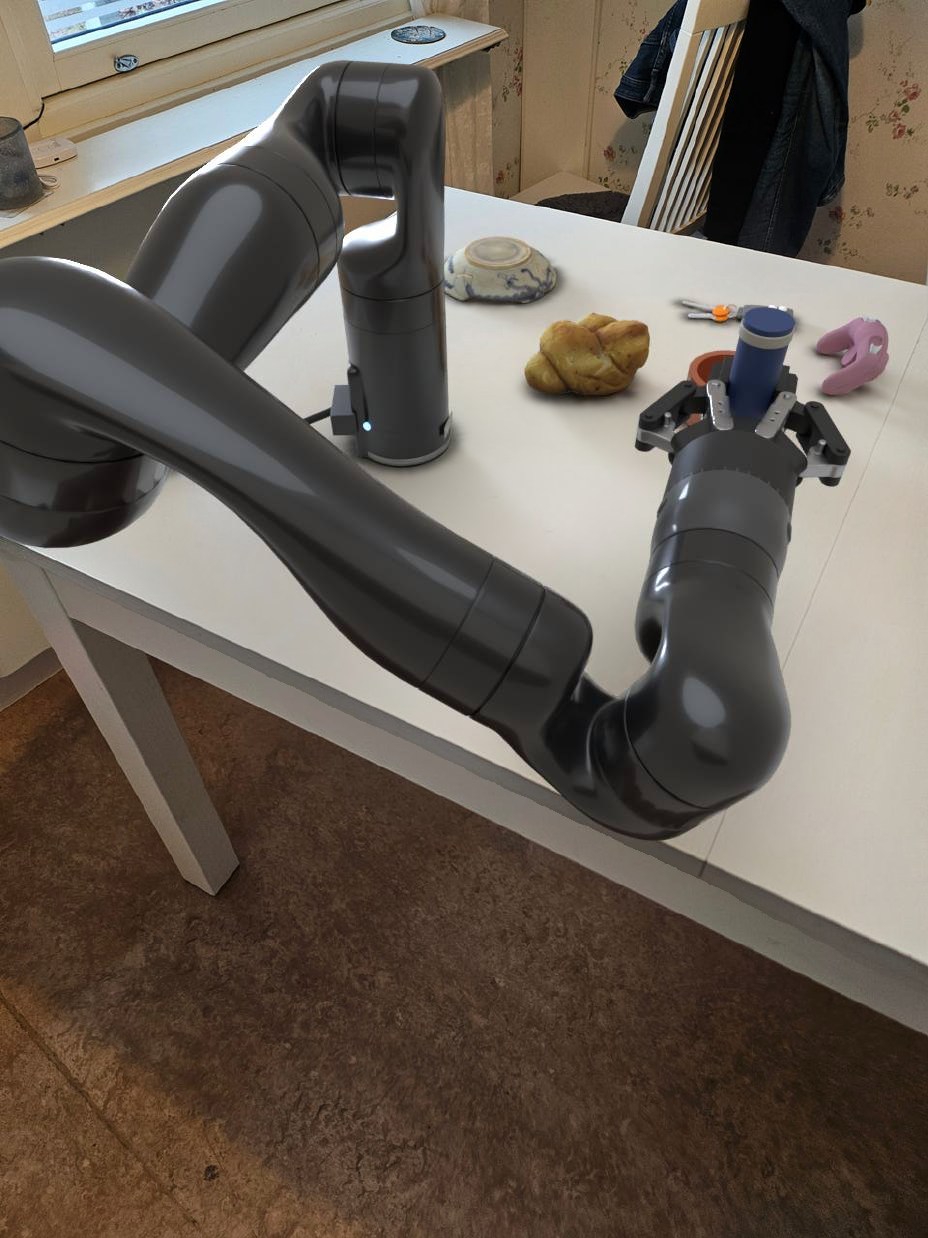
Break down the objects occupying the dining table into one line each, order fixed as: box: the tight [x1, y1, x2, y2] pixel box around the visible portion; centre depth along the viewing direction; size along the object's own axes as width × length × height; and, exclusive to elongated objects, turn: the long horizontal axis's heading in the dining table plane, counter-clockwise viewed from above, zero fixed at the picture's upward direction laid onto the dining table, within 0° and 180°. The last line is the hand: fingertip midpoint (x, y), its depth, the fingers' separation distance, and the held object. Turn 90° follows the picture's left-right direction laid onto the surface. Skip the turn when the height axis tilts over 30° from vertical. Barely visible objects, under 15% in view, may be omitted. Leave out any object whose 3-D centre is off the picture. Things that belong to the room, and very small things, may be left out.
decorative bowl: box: [444, 236, 557, 304], centre depth 110 cm, size 15×4×15 cm
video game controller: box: [815, 314, 890, 396], centre depth 93 cm, size 10×5×7 cm, turn 169°
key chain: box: [681, 300, 794, 322], centre depth 103 cm, size 13×4×2 cm, turn 76°
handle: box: [726, 307, 796, 419], centre depth 61 cm, size 3×3×14 cm
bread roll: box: [524, 312, 651, 396], centre depth 92 cm, size 13×10×8 cm
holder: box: [685, 349, 736, 427], centre depth 89 cm, size 8×8×5 cm
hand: (754, 372), depth 62 cm, fingers closed on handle, 3 cm apart
